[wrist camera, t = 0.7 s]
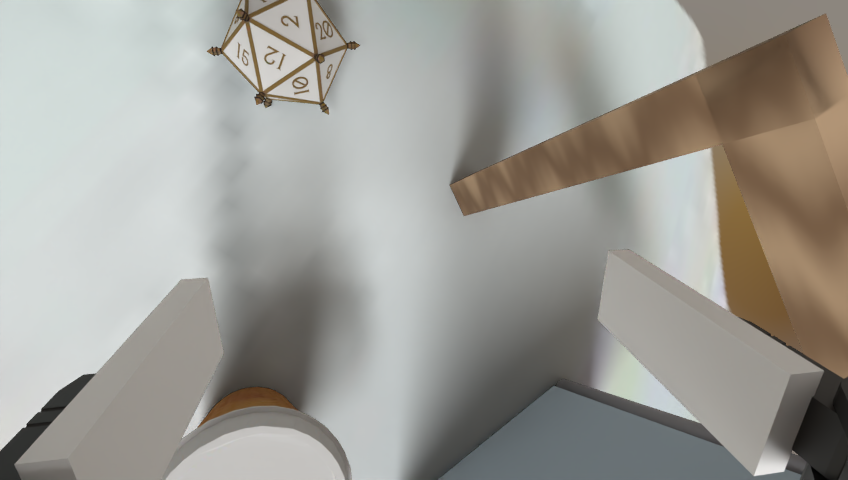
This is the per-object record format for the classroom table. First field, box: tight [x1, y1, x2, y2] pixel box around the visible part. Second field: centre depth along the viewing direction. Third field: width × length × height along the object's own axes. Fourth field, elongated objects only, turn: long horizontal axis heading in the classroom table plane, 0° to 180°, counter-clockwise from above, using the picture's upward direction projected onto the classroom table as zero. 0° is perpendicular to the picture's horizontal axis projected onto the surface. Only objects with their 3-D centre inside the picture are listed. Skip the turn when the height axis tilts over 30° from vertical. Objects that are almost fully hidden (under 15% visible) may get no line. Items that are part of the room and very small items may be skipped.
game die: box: [207, 0, 360, 114], centre depth 28 cm, size 9×8×10 cm
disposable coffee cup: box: [161, 387, 352, 480], centre depth 24 cm, size 10×10×12 cm
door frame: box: [450, 14, 848, 379], centre depth 27 cm, size 26×3×25 cm, turn 28°
